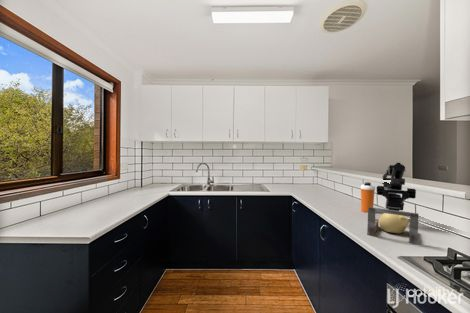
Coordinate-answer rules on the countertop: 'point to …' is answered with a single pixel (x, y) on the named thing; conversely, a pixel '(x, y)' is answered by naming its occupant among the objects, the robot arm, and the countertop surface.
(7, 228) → the countertop surface
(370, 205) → the shaker bottle
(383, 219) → the pale yellow round lump
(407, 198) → the robot arm
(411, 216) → the channel
